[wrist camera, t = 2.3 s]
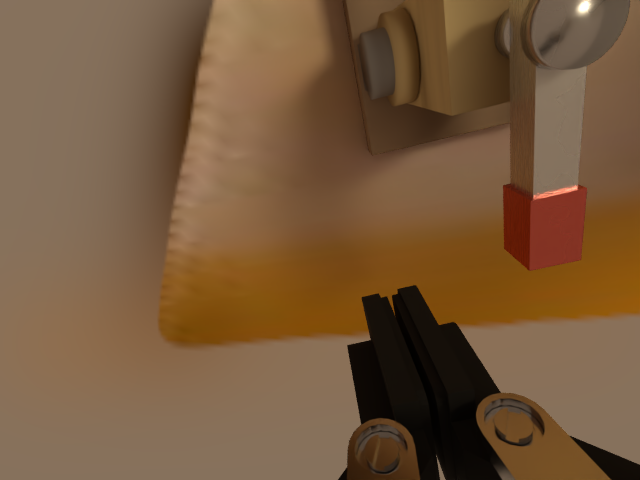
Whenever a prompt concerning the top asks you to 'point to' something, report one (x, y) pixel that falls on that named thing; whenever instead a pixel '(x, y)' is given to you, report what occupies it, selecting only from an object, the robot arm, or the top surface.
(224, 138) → the top surface
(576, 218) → the valve lever
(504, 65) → the valve
